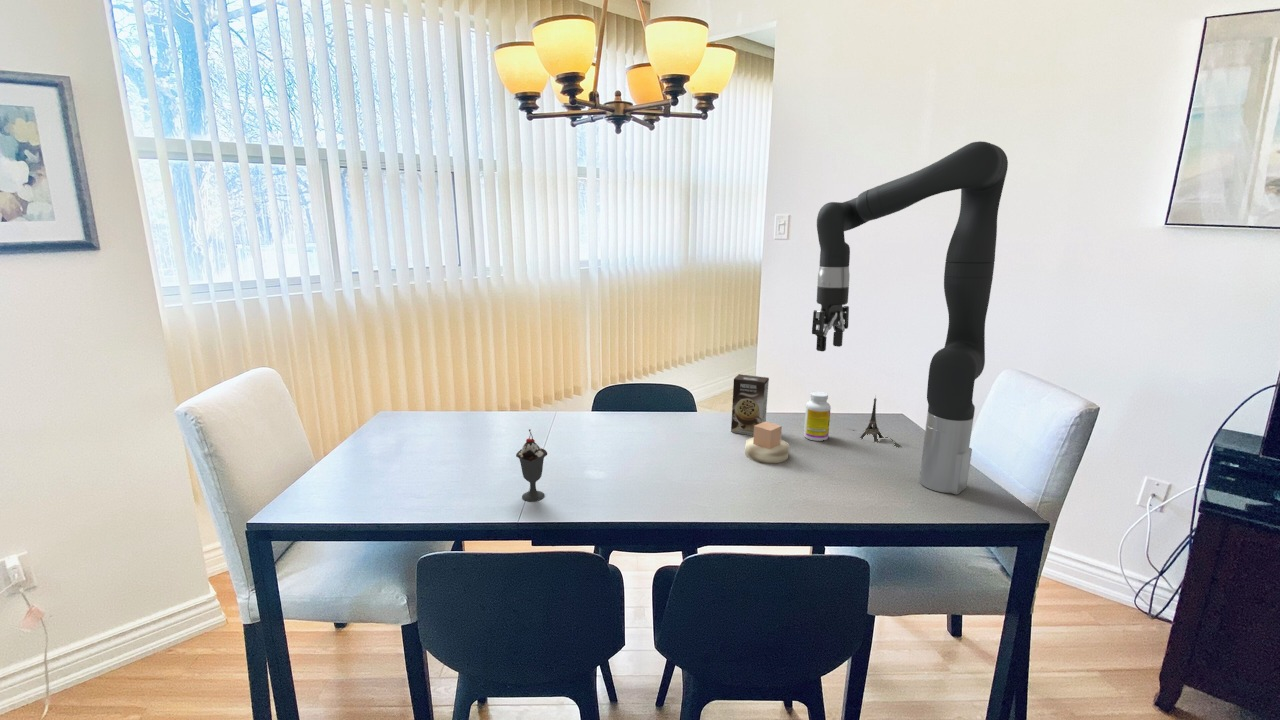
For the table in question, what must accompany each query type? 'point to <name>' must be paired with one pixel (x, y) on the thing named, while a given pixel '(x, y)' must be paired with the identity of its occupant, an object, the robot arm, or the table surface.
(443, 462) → the table surface
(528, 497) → the sundae
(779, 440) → the cube
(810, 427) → the supplement bottle
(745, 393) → the coffee box
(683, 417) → the table surface
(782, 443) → the plinth
